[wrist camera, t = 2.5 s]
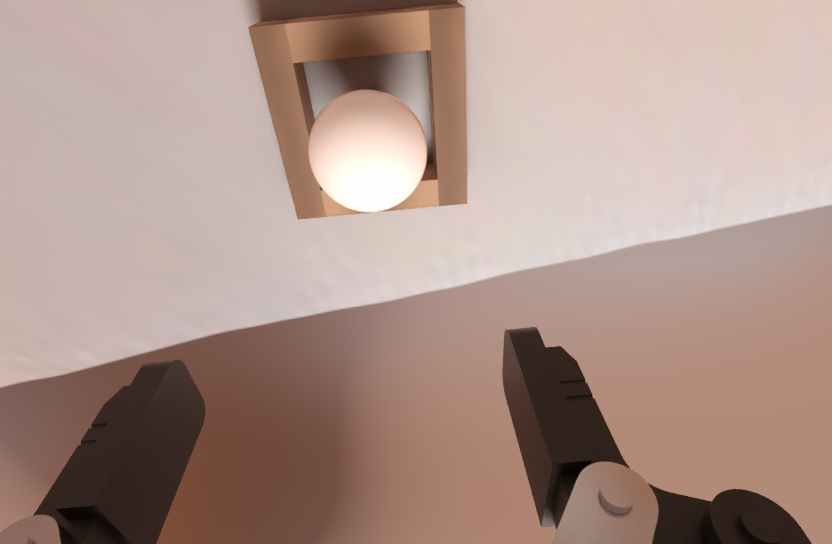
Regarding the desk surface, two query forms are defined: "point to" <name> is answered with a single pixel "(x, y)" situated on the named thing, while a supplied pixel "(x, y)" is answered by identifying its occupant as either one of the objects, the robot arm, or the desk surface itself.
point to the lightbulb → (367, 150)
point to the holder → (356, 37)
